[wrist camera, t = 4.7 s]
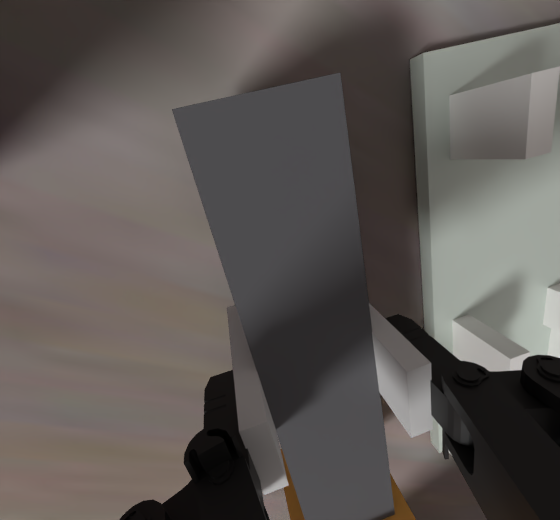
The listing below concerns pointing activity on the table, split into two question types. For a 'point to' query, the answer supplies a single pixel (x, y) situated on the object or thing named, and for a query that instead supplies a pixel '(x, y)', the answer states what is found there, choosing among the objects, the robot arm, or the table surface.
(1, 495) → the table surface
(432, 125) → the board
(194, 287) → the table surface
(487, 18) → the table surface
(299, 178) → the bar
